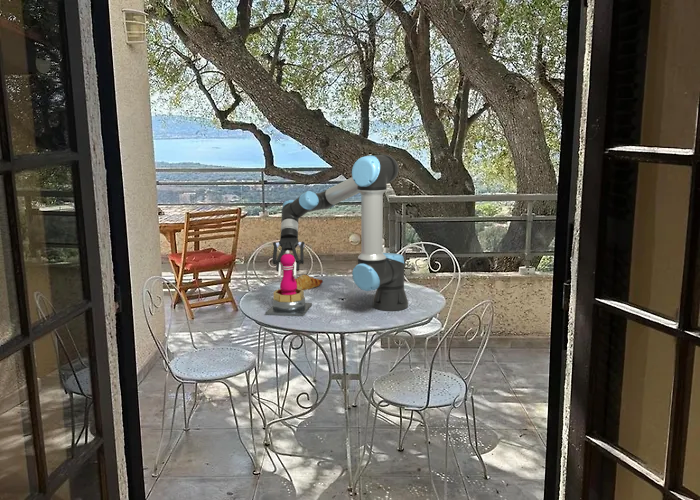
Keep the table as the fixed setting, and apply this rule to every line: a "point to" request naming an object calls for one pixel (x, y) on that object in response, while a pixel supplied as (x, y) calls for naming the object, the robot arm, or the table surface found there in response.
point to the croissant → (307, 282)
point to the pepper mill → (288, 275)
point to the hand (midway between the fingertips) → (287, 277)
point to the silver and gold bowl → (289, 304)
